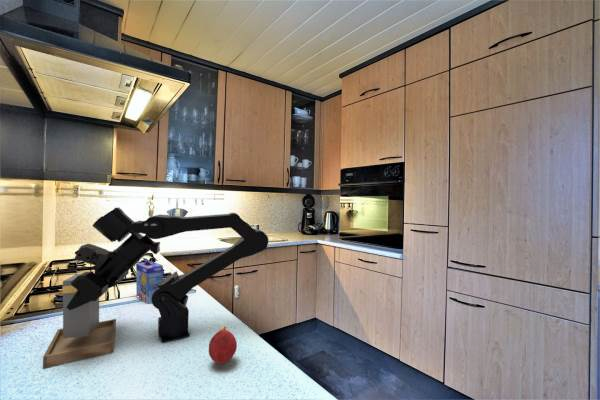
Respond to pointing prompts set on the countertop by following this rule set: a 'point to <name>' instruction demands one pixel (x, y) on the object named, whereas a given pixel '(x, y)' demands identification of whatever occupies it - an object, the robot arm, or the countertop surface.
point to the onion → (222, 346)
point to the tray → (81, 345)
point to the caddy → (78, 313)
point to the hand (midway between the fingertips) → (75, 303)
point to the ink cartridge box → (148, 279)
